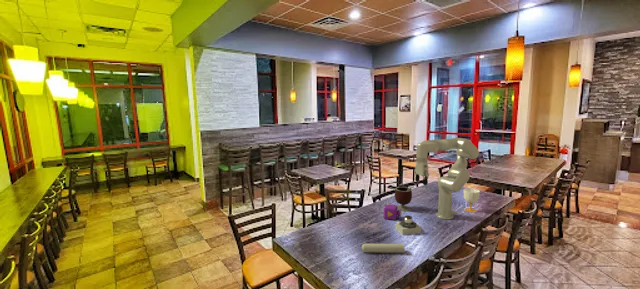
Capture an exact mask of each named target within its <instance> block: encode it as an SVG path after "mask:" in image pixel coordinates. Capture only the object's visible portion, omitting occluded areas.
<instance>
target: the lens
mask: <svg viewBox="0 0 640 289" xmlns="http://www.w3.org/2000/svg"><path fill="white" fill-rule="evenodd" d="M403 218H404V224H406V225H412V221H413V216H412V215H404V217H403Z"/></svg>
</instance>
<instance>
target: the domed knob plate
mask: <svg viewBox="0 0 640 289" xmlns="http://www.w3.org/2000/svg"><path fill="white" fill-rule="evenodd" d="M395 230H396V231H398V232H399V233H400V234H401V235H402V236H405V235H412V234H420V233H422V226H421V225H420V224H418V223H416V222H415V221H414V220H412V225H406V224H404V220H400V221H397V222H396V223H395Z"/></svg>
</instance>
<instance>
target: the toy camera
mask: <svg viewBox="0 0 640 289" xmlns="http://www.w3.org/2000/svg"><path fill="white" fill-rule="evenodd" d="M397 206H398V204H397V205H396V204H391V203H386V204H385V205H384V208H383V218H384V219H386V220H394V221H395V220H397V217H399V218H401V216H402V215H403V211H401V209H399V210H397Z"/></svg>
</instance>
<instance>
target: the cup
mask: <svg viewBox="0 0 640 289" xmlns="http://www.w3.org/2000/svg"><path fill="white" fill-rule="evenodd" d="M480 193H481V191H480V190H479V189H477V188H471V187H469V188H468V187H466V188H464V189H463V198H464V200H465V201H466V202H467V203H469V205H470V206H469V208H468V207H467V208H464V209H463V210H464V211H465V212H467V213H472V214H473V213H477V212H478V210H476V209H474V208H472V205H473V204H476V203H478V201H479V198H480V195H481V194H480Z"/></svg>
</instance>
